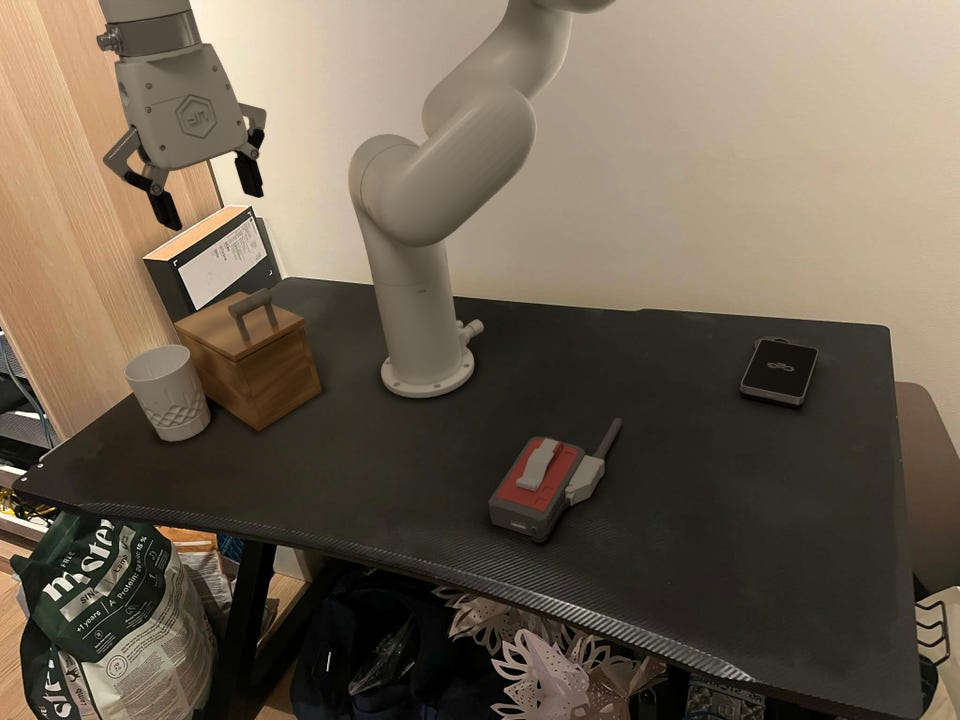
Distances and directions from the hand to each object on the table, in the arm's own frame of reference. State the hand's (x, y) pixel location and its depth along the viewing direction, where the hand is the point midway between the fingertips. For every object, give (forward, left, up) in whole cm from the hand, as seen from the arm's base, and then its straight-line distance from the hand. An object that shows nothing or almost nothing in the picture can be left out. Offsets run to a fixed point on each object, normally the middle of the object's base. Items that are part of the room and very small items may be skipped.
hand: (215, 211), depth 75 cm
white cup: (+9, -10, -28) cm, 32 cm away
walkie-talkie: (-12, +35, -28) cm, 47 cm away
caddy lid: (-1, -8, -18) cm, 19 cm away
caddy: (-2, -8, -28) cm, 29 cm away
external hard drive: (-41, +46, -28) cm, 68 cm away
